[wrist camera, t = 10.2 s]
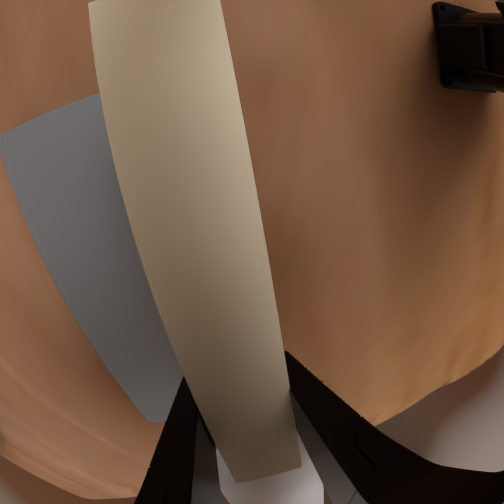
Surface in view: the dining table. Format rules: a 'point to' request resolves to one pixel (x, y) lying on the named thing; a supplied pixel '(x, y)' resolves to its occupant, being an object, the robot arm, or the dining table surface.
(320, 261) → the dining table surface
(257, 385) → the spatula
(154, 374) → the charcoal board
